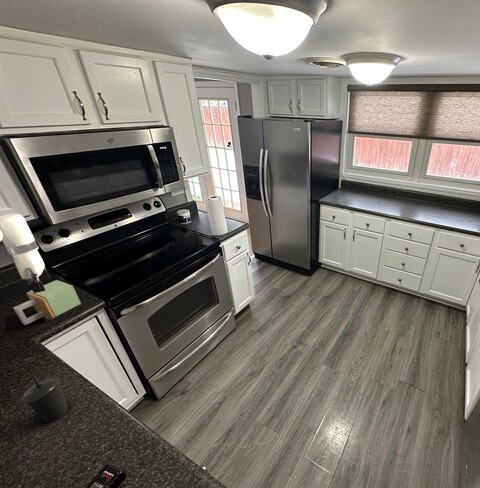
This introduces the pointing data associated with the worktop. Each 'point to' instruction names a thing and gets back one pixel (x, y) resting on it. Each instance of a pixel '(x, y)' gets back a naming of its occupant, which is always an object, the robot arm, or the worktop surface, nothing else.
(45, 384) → the drinking cup
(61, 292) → the cupboard
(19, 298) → the worktop surface
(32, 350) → the worktop surface
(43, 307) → the door
